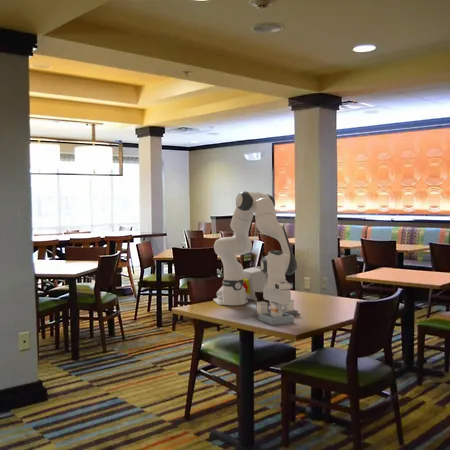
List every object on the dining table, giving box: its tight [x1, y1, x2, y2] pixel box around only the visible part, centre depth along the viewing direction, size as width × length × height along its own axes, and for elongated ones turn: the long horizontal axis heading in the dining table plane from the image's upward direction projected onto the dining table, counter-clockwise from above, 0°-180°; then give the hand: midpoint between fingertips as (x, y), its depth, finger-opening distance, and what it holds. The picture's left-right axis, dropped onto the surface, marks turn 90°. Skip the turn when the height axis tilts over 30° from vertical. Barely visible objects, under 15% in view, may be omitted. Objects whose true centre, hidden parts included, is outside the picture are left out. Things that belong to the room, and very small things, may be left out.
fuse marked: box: [270, 302, 282, 318], centre depth 261 cm, size 4×4×7 cm
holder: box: [250, 308, 301, 321], centre depth 275 cm, size 8×25×2 cm, turn 116°
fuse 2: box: [282, 298, 295, 311], centre depth 279 cm, size 4×4×7 cm
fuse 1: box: [256, 301, 269, 314], centre depth 272 cm, size 4×4×7 cm
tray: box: [258, 312, 295, 327], centre depth 262 cm, size 13×13×4 cm
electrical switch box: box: [243, 265, 267, 302], centre depth 321 cm, size 15×15×20 cm
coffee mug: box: [255, 290, 270, 309], centre depth 295 cm, size 12×9×10 cm
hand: (276, 311), depth 261 cm, fingers closed on fuse marked, 4 cm apart
